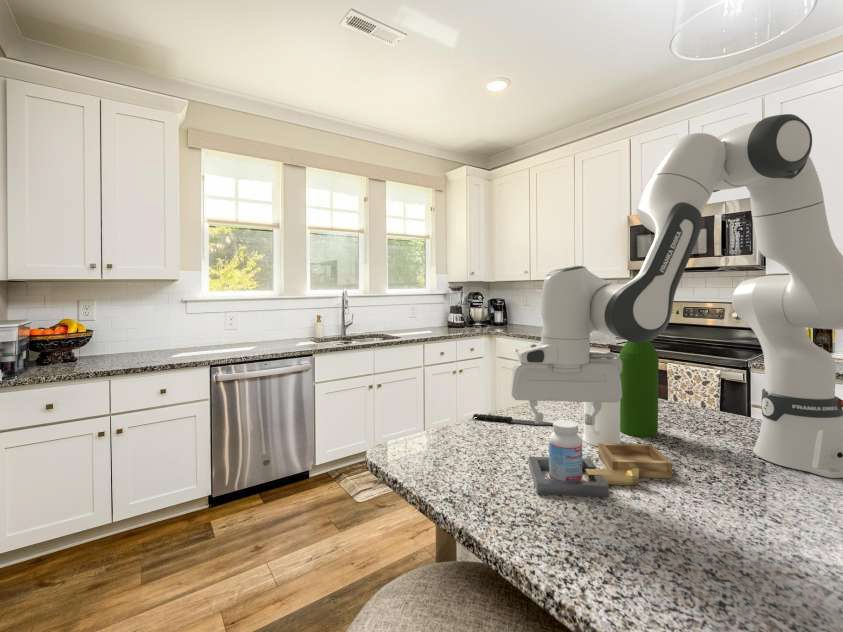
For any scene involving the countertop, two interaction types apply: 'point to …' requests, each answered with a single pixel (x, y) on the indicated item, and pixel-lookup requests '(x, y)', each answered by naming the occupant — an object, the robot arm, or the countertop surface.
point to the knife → (506, 419)
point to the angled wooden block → (615, 475)
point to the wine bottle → (639, 389)
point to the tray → (635, 459)
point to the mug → (603, 424)
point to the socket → (566, 487)
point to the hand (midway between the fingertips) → (564, 423)
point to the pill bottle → (565, 452)
